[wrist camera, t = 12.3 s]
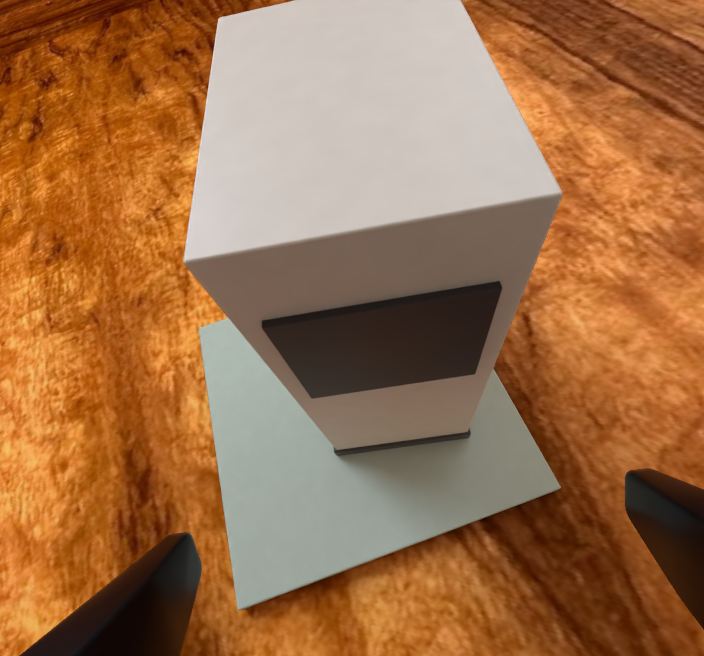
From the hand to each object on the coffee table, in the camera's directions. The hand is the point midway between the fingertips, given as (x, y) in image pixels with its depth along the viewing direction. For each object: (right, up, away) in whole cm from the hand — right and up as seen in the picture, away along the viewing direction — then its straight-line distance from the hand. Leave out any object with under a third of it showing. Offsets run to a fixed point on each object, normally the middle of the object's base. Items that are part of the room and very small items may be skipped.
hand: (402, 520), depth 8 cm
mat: (-1, +1, +9) cm, 9 cm away
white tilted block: (+1, +2, +9) cm, 9 cm away
